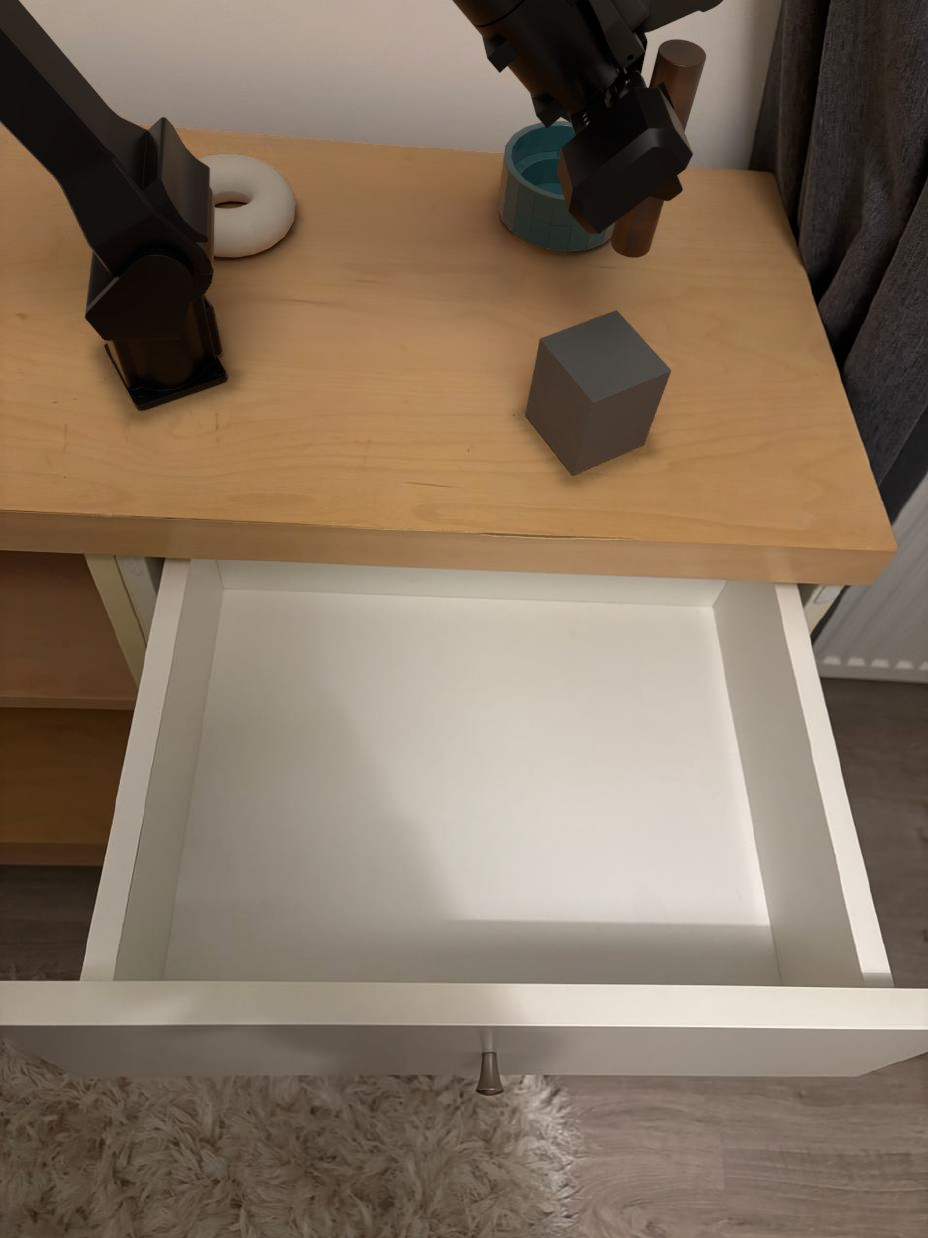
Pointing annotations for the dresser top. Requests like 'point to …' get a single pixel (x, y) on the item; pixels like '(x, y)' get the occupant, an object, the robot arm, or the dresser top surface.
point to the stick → (681, 76)
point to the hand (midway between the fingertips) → (669, 179)
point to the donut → (248, 204)
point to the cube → (595, 391)
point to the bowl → (541, 191)
